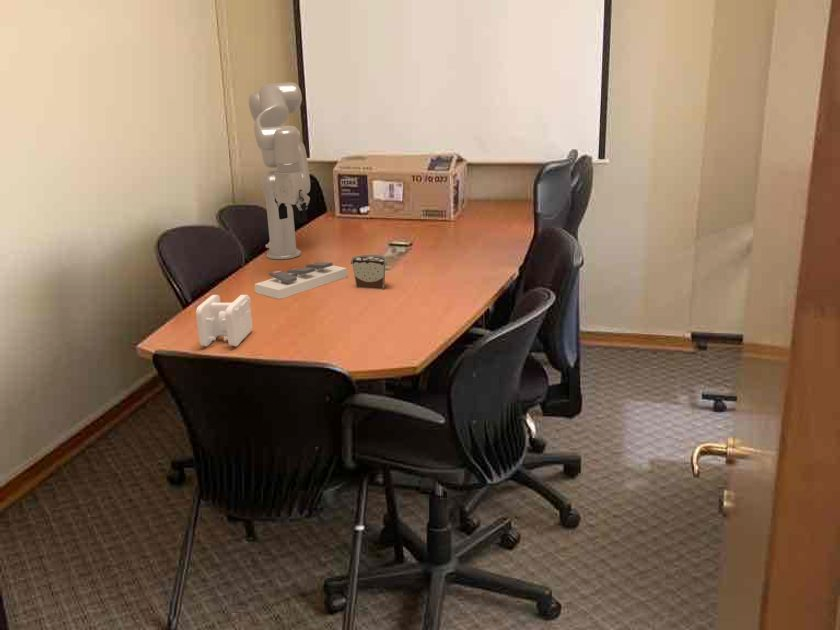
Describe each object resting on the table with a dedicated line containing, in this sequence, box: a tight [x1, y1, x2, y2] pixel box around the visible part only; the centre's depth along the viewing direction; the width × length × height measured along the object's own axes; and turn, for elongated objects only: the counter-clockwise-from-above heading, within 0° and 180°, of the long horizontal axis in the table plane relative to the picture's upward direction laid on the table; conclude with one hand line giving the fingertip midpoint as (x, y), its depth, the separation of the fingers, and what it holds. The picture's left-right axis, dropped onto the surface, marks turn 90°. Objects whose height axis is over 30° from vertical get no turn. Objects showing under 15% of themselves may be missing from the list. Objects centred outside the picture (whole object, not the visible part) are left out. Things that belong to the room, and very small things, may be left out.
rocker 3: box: [305, 261, 334, 268], centre depth 294 cm, size 9×4×1 cm, turn 49°
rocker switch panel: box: [254, 264, 348, 300], centre depth 289 cm, size 12×30×4 cm, turn 139°
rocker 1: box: [268, 269, 297, 283], centre depth 283 cm, size 9×4×1 cm, turn 49°
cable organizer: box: [195, 294, 253, 347], centre depth 240 cm, size 15×11×12 cm
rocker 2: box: [287, 267, 315, 274], centre depth 288 cm, size 9×4×1 cm, turn 49°
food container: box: [350, 253, 388, 291], centre depth 283 cm, size 12×6×10 cm, turn 71°
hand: (293, 220), depth 287 cm, fingers open, 9 cm apart
